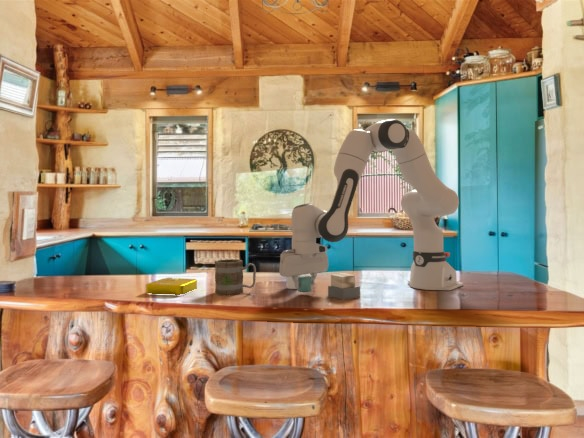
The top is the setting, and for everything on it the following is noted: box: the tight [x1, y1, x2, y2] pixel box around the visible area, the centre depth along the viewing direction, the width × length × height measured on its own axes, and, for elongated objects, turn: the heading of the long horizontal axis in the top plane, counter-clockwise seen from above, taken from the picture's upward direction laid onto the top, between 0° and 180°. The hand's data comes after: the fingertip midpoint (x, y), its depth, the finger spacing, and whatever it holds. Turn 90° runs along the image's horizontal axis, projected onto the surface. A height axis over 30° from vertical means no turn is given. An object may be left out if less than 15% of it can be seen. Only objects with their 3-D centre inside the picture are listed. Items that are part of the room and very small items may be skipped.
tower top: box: [330, 272, 356, 288], centre depth 146 cm, size 6×6×4 cm
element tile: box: [145, 277, 198, 295], centre depth 157 cm, size 15×15×5 cm
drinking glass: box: [285, 275, 301, 290], centre depth 161 cm, size 7×7×15 cm
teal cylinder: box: [297, 275, 313, 293], centre depth 148 cm, size 5×5×5 cm
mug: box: [214, 258, 257, 297], centre depth 154 cm, size 16×11×12 cm
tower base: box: [327, 285, 361, 301], centre depth 145 cm, size 8×8×4 cm
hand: (304, 286), depth 148 cm, fingers closed on teal cylinder, 5 cm apart
